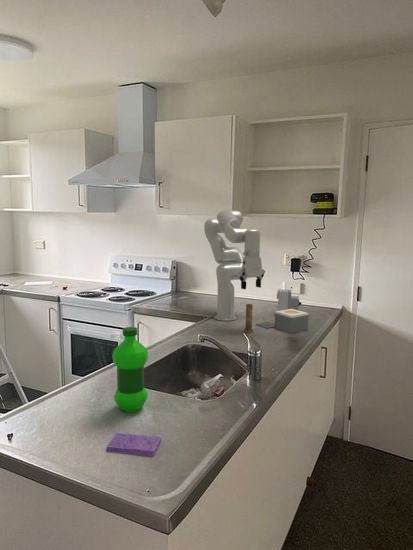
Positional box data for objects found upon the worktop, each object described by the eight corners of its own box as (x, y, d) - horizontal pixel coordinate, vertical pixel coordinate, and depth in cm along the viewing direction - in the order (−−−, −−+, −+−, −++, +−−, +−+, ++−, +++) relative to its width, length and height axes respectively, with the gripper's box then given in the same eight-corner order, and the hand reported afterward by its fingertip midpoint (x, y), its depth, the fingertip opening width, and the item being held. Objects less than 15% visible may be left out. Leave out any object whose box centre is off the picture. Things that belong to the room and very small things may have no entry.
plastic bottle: (155, 407, 129) (154, 328, 125) (127, 419, 121) (126, 335, 117) (134, 397, 135) (133, 322, 132) (106, 408, 127) (105, 329, 124)
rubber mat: (255, 324, 226) (255, 324, 226) (268, 322, 231) (268, 321, 231) (266, 328, 219) (266, 327, 219) (279, 326, 224) (279, 325, 224)
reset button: (284, 320, 219) (284, 312, 219) (291, 319, 222) (291, 311, 221) (291, 322, 215) (291, 314, 214) (298, 321, 218) (298, 313, 217)
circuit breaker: (300, 317, 243) (302, 292, 241) (276, 316, 246) (276, 291, 244) (300, 314, 250) (301, 290, 248) (276, 313, 253) (277, 289, 251)
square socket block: (274, 328, 221) (275, 311, 219) (290, 324, 227) (291, 308, 226) (291, 333, 211) (291, 316, 210) (307, 330, 217) (308, 313, 216)
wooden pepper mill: (242, 331, 214) (243, 304, 212) (249, 329, 217) (249, 303, 215) (248, 333, 211) (248, 305, 209) (254, 331, 213) (255, 305, 211)
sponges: (154, 457, 103) (154, 450, 103) (105, 452, 105) (105, 445, 105) (161, 442, 110) (161, 436, 110) (116, 438, 112) (115, 431, 112)
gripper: (243, 255, 200) (242, 290, 203) (270, 254, 210) (268, 287, 212) (233, 254, 206) (232, 288, 209) (259, 252, 216) (258, 285, 218)
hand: (251, 288), depth 211 cm, fingers open, 9 cm apart
